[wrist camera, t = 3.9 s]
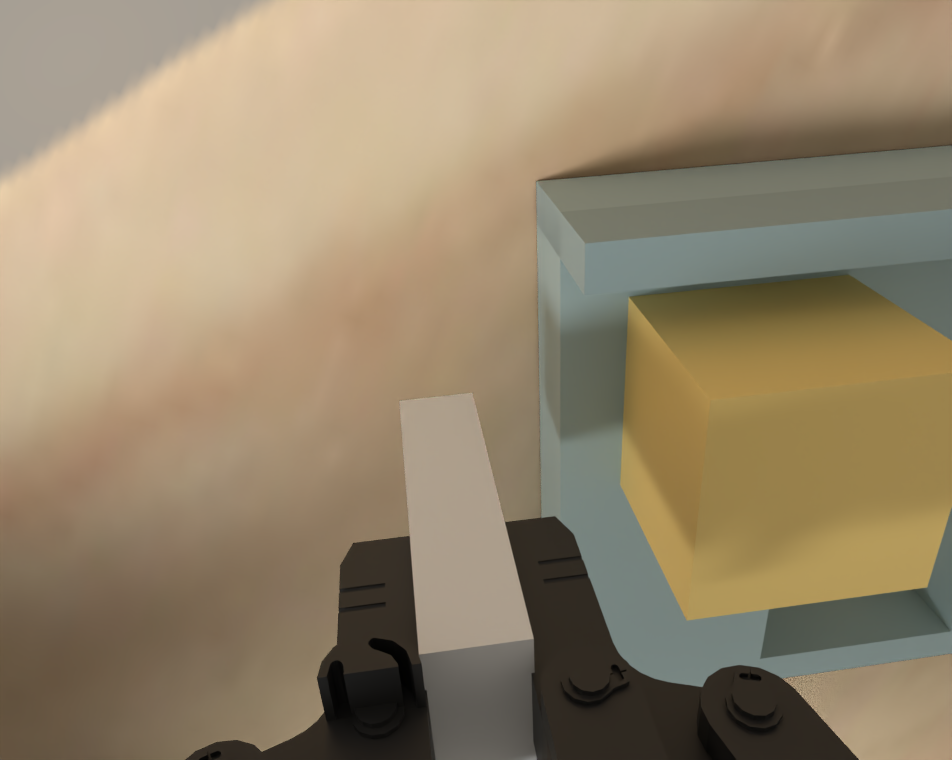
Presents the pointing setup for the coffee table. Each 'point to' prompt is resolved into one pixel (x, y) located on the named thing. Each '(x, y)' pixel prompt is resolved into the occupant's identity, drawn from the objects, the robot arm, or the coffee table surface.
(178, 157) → the coffee table surface
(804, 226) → the board
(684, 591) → the block
